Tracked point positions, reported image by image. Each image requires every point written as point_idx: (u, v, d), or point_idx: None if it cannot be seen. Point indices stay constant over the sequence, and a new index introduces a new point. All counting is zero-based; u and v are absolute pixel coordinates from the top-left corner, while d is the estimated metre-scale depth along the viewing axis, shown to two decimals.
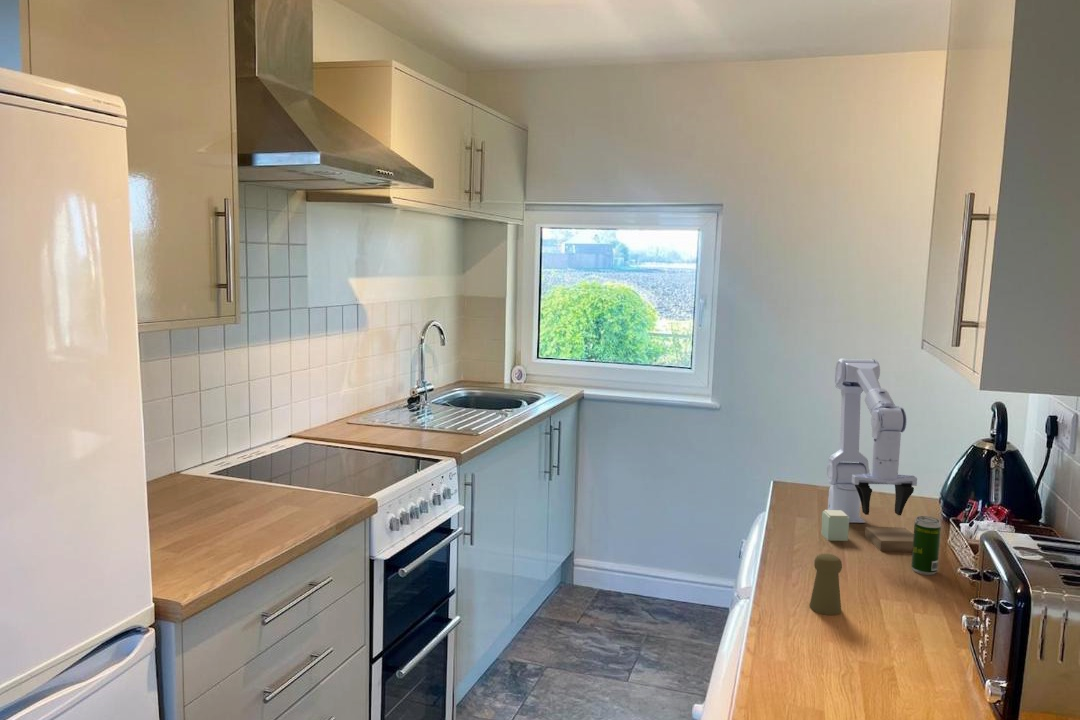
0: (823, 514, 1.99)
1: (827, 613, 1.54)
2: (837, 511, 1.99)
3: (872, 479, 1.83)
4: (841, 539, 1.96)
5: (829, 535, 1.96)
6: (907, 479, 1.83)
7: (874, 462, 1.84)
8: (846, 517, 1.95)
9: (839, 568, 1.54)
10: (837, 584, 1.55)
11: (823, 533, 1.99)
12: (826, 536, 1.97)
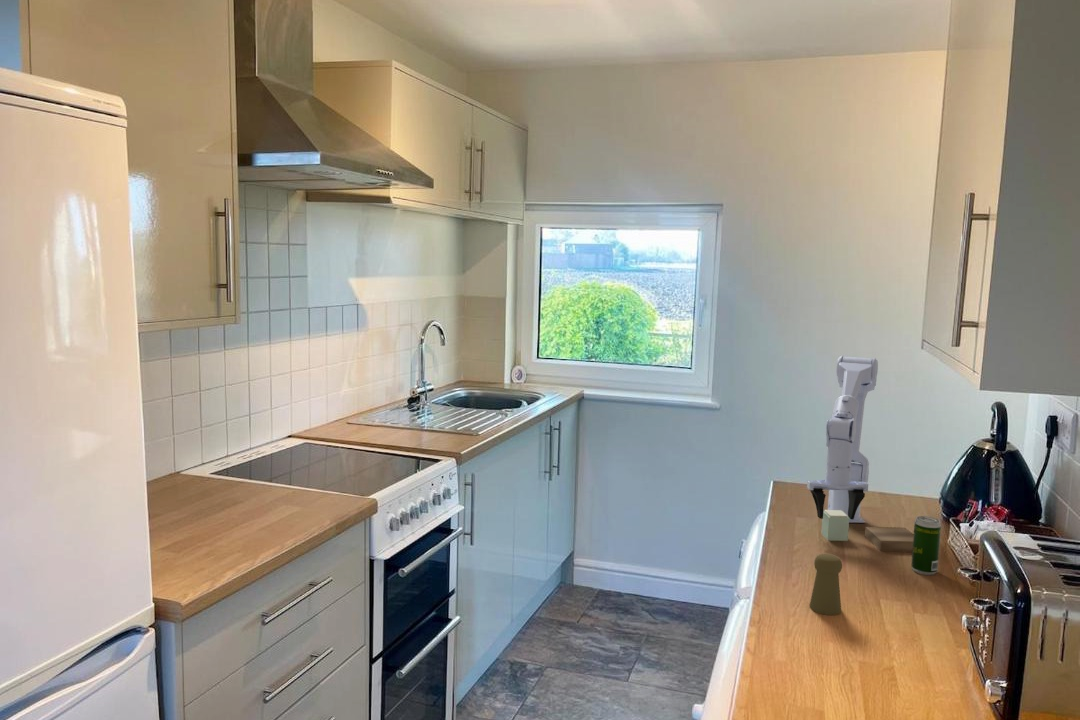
0: (823, 514, 1.99)
1: (827, 613, 1.54)
2: (837, 511, 1.99)
3: (825, 485, 1.95)
4: (841, 539, 1.96)
5: (829, 535, 1.96)
6: (858, 485, 1.95)
7: (828, 469, 1.95)
8: (846, 517, 1.95)
9: (839, 568, 1.54)
10: (837, 584, 1.55)
11: (823, 533, 1.99)
12: (826, 536, 1.97)
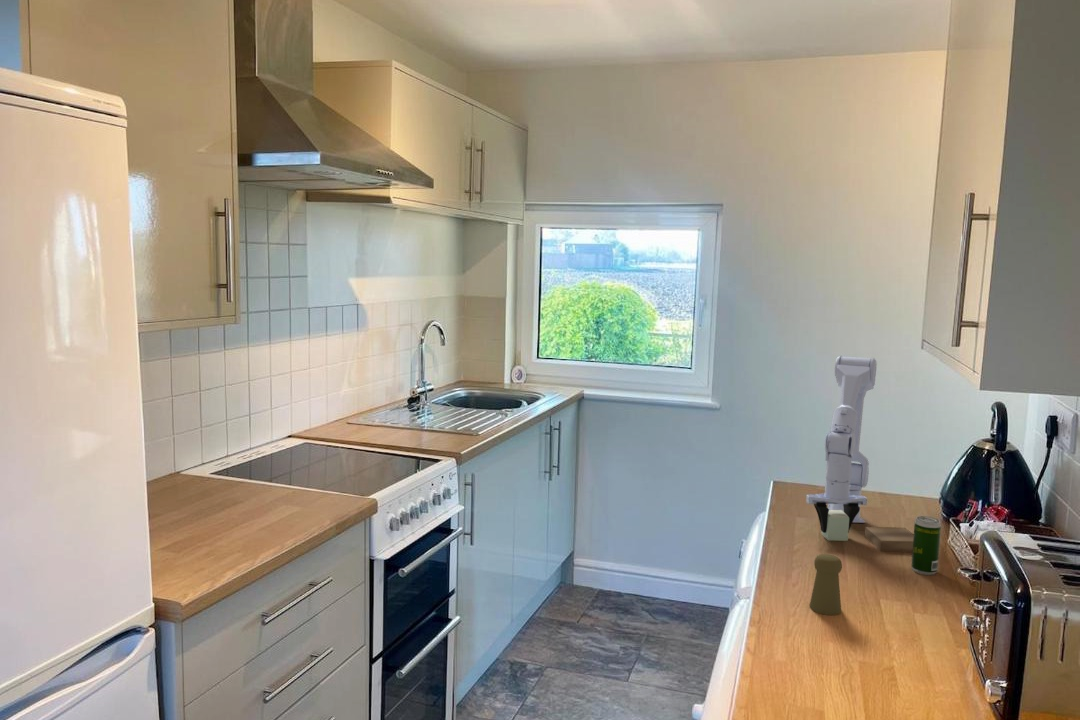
0: None
1: (827, 613, 1.54)
2: (837, 511, 1.98)
3: (825, 499, 1.95)
4: (841, 539, 1.96)
5: (829, 535, 1.96)
6: (858, 499, 1.95)
7: (827, 483, 1.96)
8: (846, 517, 1.95)
9: (839, 568, 1.54)
10: (837, 584, 1.55)
11: (823, 533, 1.99)
12: (826, 536, 1.97)
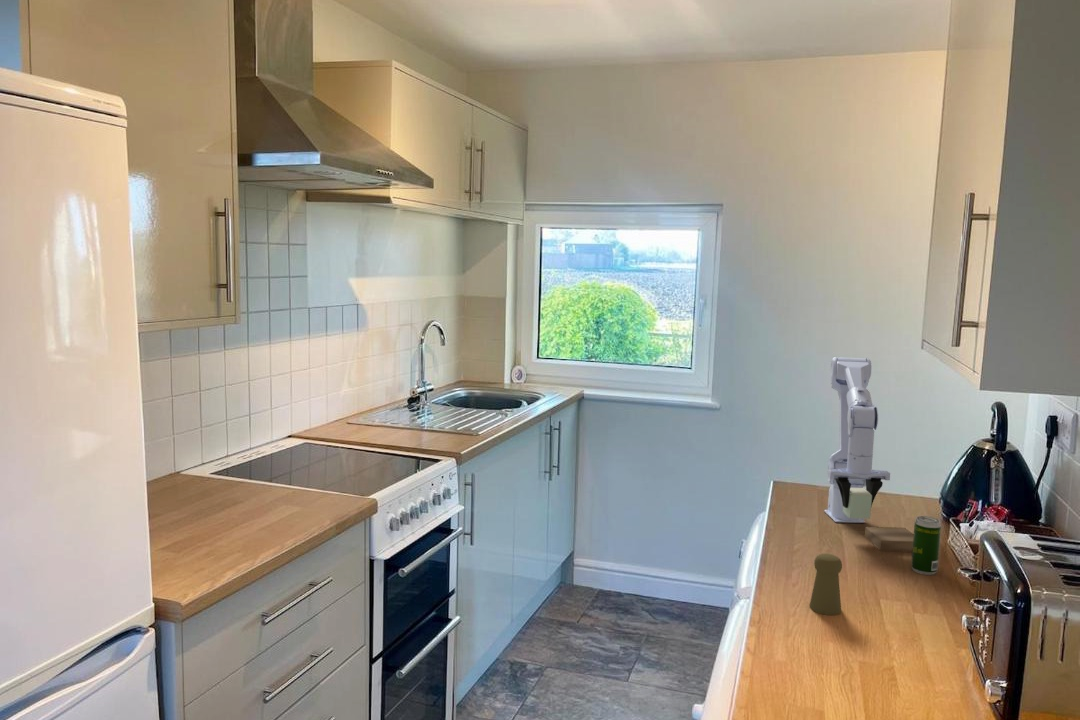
0: None
1: (827, 613, 1.54)
2: (859, 489, 1.96)
3: (847, 474, 1.93)
4: (863, 517, 1.93)
5: (851, 513, 1.93)
6: (880, 474, 1.93)
7: (849, 458, 1.94)
8: (869, 494, 1.92)
9: (839, 568, 1.54)
10: (837, 584, 1.55)
11: (845, 511, 1.96)
12: (848, 514, 1.94)
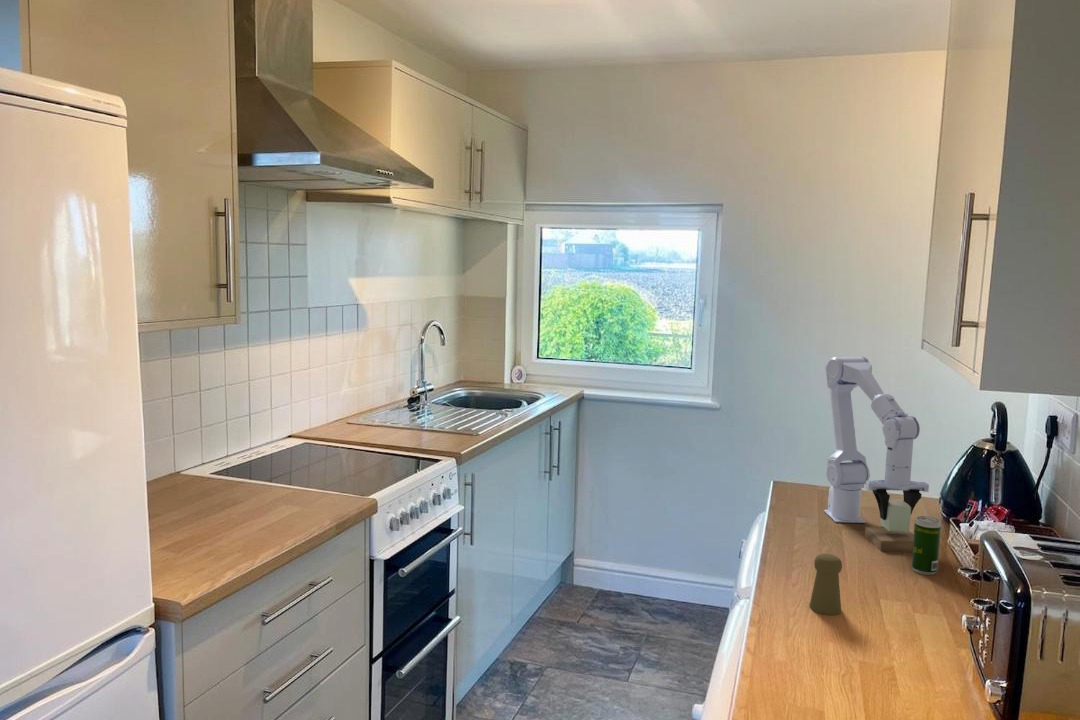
0: None
1: (827, 613, 1.54)
2: (897, 500, 1.93)
3: (885, 485, 1.90)
4: (902, 529, 1.90)
5: (890, 525, 1.90)
6: (919, 485, 1.90)
7: (887, 469, 1.91)
8: (908, 506, 1.90)
9: (839, 568, 1.54)
10: (837, 584, 1.55)
11: (883, 523, 1.94)
12: (887, 526, 1.91)
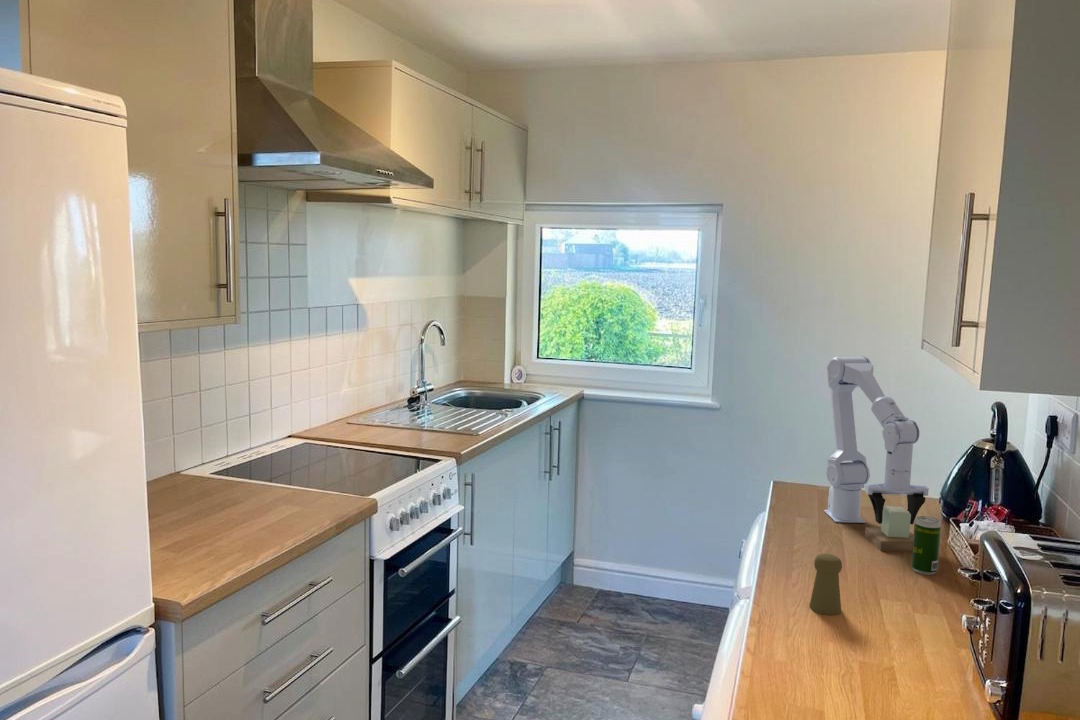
0: (883, 510, 1.95)
1: (827, 613, 1.54)
2: (898, 507, 1.94)
3: (885, 489, 1.90)
4: (902, 536, 1.91)
5: (890, 531, 1.91)
6: (919, 489, 1.90)
7: (887, 473, 1.91)
8: (907, 513, 1.90)
9: (839, 568, 1.54)
10: (837, 584, 1.55)
11: (883, 529, 1.94)
12: (886, 532, 1.92)
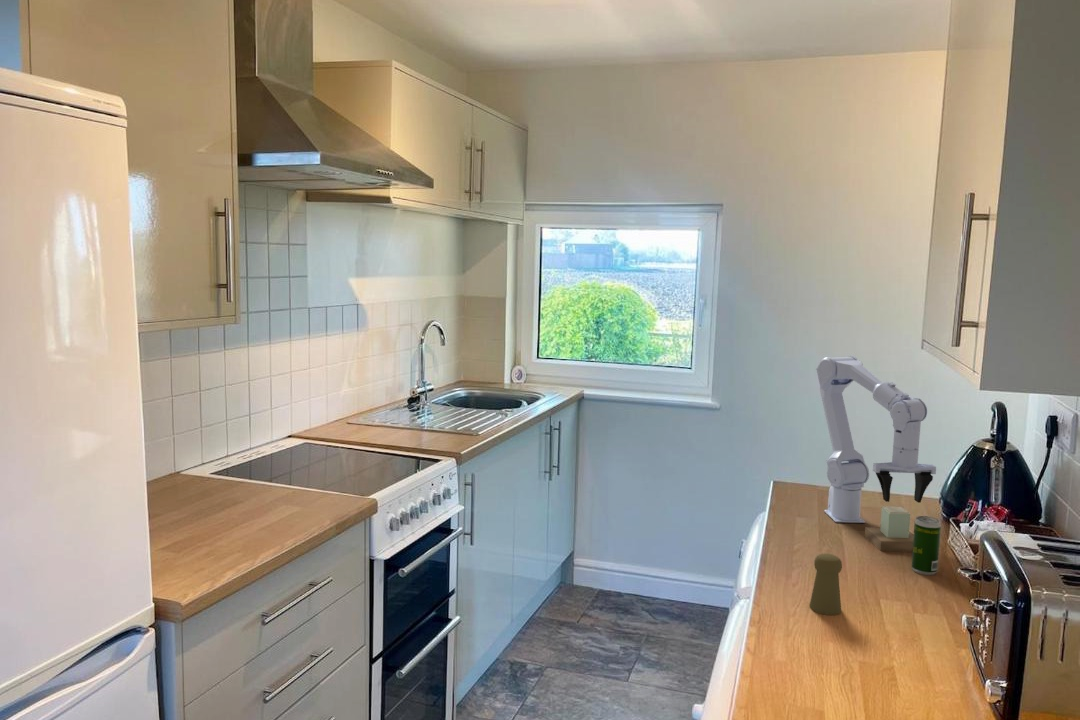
0: (882, 510, 1.95)
1: (827, 613, 1.54)
2: (897, 507, 1.94)
3: (893, 467, 1.92)
4: (902, 536, 1.91)
5: (889, 532, 1.91)
6: (926, 468, 1.92)
7: (894, 451, 1.92)
8: (907, 514, 1.90)
9: (839, 568, 1.54)
10: (837, 584, 1.55)
11: (882, 530, 1.94)
12: (886, 533, 1.92)
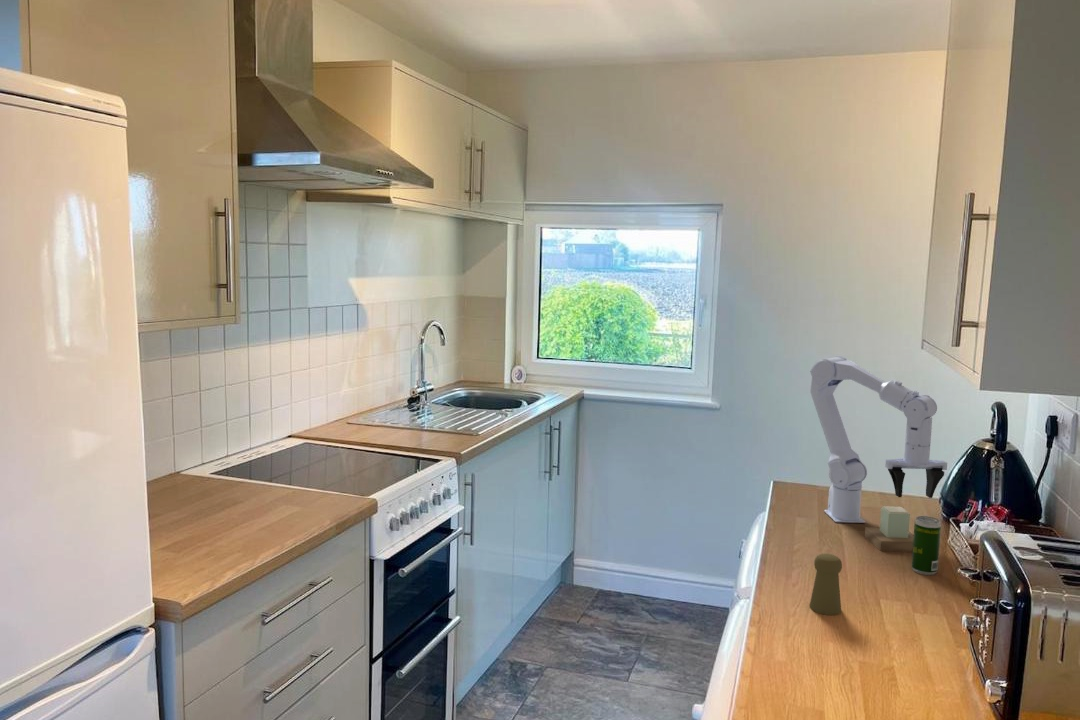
0: (882, 510, 1.95)
1: (827, 613, 1.54)
2: (897, 507, 1.94)
3: (905, 463, 1.95)
4: (901, 536, 1.91)
5: (889, 532, 1.91)
6: (938, 464, 1.95)
7: (907, 448, 1.96)
8: (906, 513, 1.91)
9: (839, 568, 1.54)
10: (837, 584, 1.55)
11: (882, 530, 1.95)
12: (885, 533, 1.92)
